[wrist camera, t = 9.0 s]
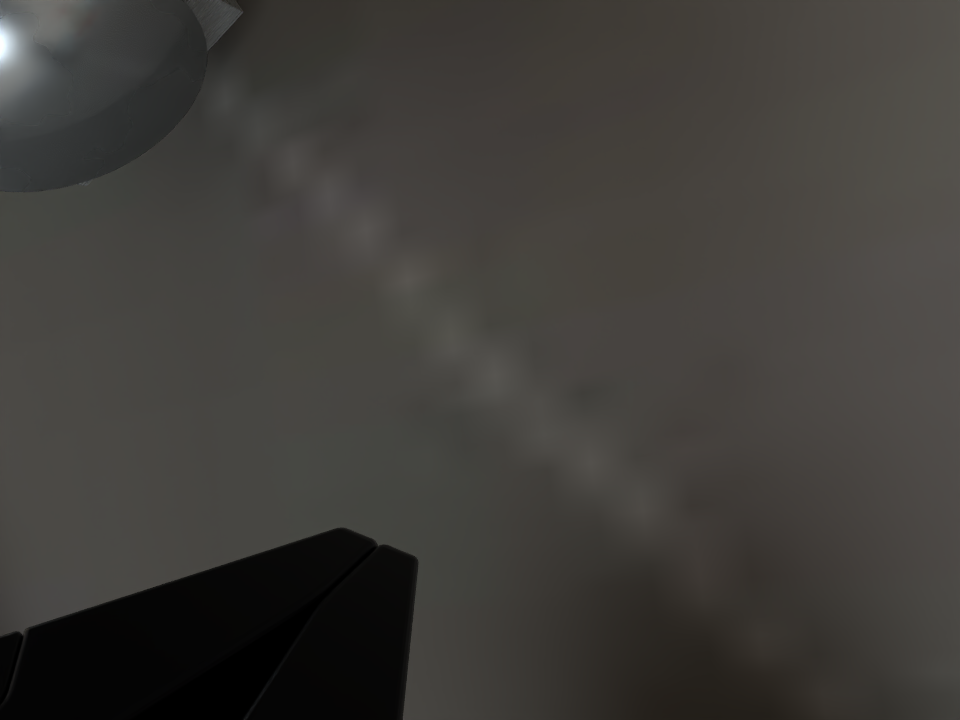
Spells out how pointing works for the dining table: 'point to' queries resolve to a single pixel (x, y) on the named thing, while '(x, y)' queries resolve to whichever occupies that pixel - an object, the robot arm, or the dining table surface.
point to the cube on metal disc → (97, 82)
